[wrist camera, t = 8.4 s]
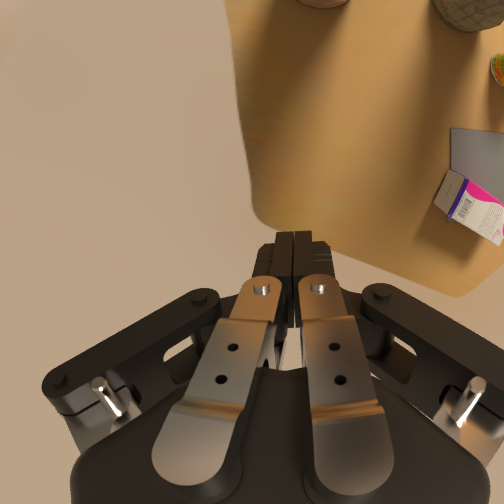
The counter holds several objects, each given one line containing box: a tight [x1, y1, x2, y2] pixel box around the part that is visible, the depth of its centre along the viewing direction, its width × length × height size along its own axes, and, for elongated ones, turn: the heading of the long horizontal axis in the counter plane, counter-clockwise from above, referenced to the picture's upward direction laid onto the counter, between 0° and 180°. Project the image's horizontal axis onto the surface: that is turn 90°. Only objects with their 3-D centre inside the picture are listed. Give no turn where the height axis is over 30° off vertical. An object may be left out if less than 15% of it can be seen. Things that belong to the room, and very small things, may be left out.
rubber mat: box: [447, 128, 504, 222], centre depth 35 cm, size 14×14×1 cm
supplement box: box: [433, 169, 504, 247], centre depth 34 cm, size 6×6×12 cm
